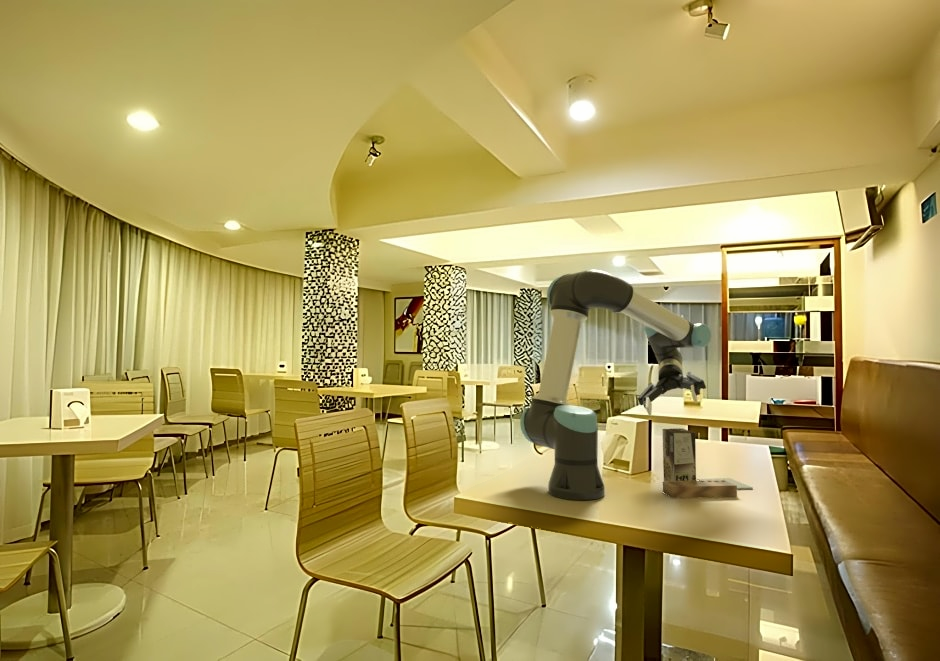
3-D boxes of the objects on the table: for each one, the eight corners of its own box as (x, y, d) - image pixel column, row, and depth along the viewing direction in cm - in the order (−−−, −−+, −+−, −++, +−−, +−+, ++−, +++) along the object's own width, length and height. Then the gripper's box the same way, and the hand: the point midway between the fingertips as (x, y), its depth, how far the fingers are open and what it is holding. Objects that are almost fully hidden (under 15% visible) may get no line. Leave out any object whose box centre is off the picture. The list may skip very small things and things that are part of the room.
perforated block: (672, 498, 137) (672, 485, 138) (662, 492, 143) (662, 480, 143) (737, 496, 139) (736, 484, 139) (725, 491, 144) (725, 479, 144)
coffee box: (697, 490, 145) (696, 432, 146) (674, 490, 146) (673, 432, 146) (684, 482, 155) (683, 427, 155) (662, 482, 155) (661, 427, 155)
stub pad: (717, 490, 146) (717, 488, 146) (697, 480, 157) (697, 478, 157) (752, 489, 147) (752, 487, 147) (730, 479, 158) (730, 478, 158)
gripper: (713, 373, 167) (719, 405, 148) (638, 393, 178) (634, 426, 159) (705, 352, 165) (710, 382, 147) (629, 375, 177) (625, 405, 158)
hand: (671, 405), depth 153 cm, fingers open, 13 cm apart
